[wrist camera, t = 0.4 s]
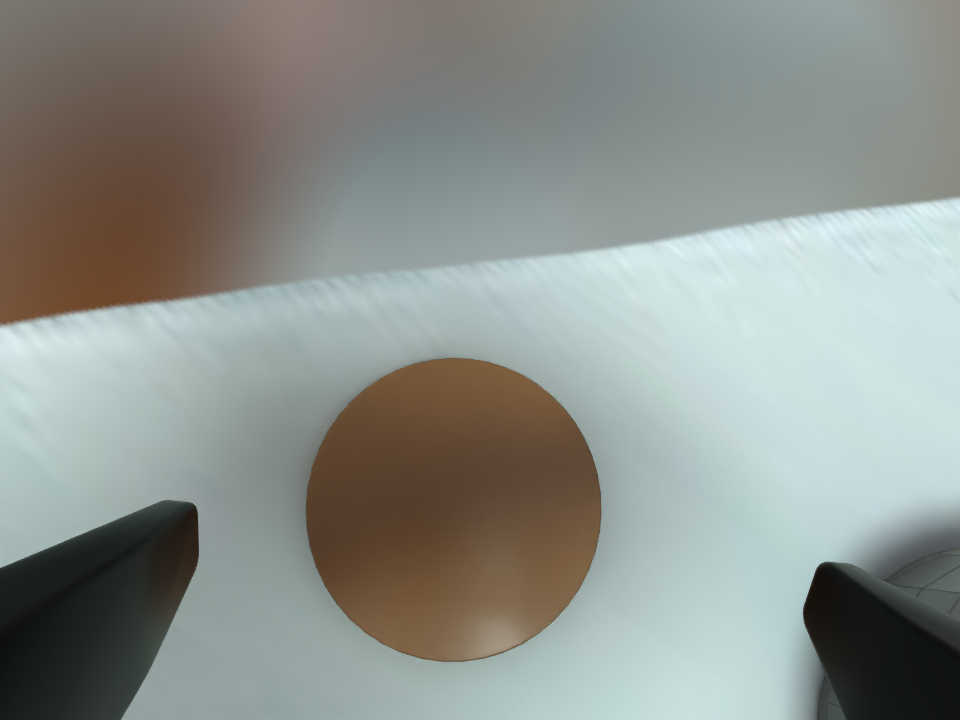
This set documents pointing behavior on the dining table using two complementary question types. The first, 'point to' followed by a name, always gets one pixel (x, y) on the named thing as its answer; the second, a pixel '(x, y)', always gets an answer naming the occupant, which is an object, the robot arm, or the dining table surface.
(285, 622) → the dining table surface
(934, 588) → the pan
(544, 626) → the disc
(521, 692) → the dining table surface
